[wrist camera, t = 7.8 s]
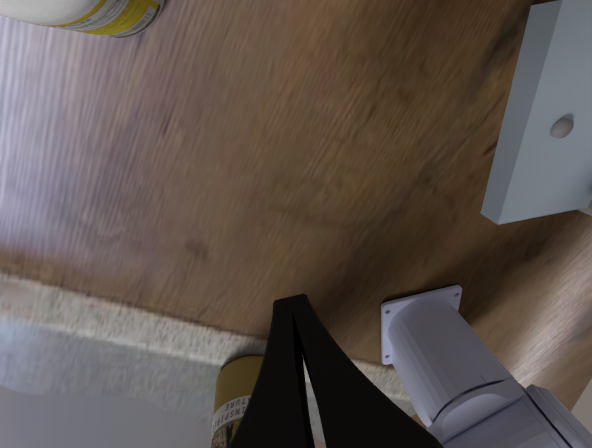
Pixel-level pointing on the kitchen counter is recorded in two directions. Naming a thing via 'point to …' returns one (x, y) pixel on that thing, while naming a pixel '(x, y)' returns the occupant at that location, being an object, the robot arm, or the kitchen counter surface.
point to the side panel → (587, 209)
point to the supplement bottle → (87, 15)
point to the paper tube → (233, 397)
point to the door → (546, 119)
